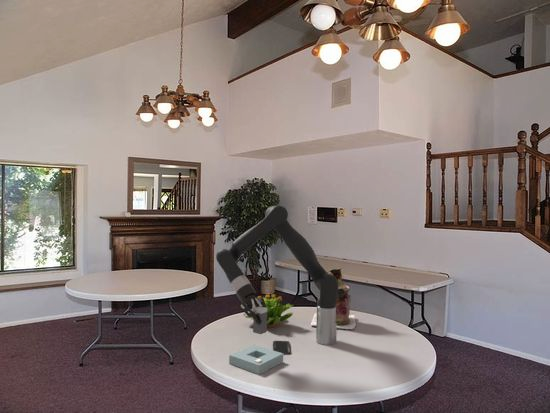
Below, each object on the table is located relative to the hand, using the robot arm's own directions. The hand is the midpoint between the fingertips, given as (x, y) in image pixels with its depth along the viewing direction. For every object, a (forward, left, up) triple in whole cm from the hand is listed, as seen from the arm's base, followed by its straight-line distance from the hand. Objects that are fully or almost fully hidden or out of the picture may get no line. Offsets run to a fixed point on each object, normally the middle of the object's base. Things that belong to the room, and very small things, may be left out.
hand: (263, 322), depth 158 cm
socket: (+2, -2, -17) cm, 18 cm away
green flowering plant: (-11, -54, -18) cm, 58 cm away
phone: (-11, -18, -18) cm, 27 cm away
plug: (+1, -1, -5) cm, 5 cm away
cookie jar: (-47, -55, -18) cm, 75 cm away
